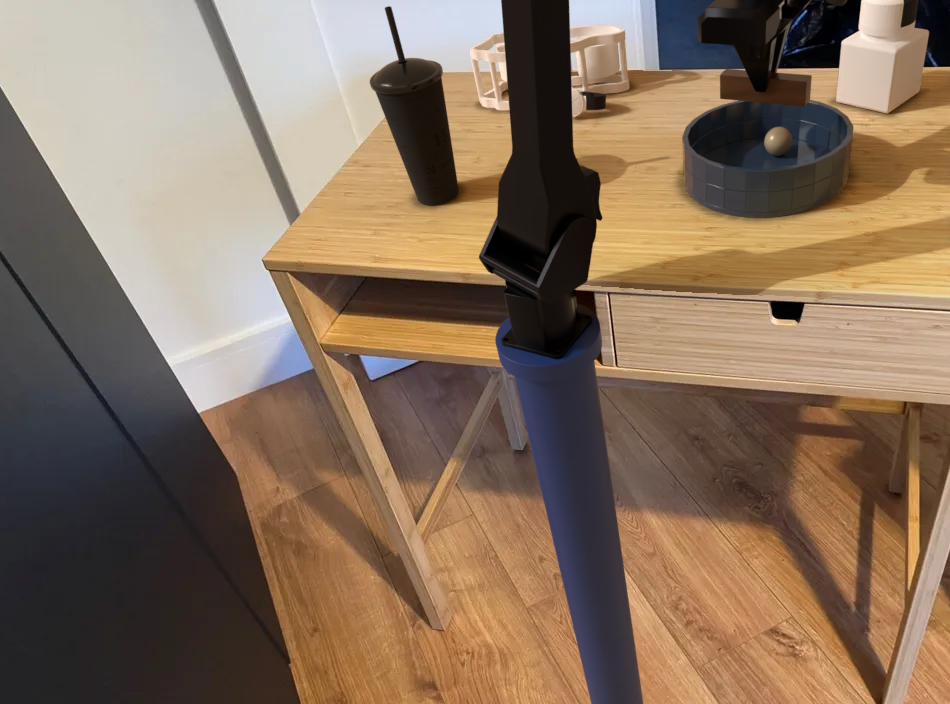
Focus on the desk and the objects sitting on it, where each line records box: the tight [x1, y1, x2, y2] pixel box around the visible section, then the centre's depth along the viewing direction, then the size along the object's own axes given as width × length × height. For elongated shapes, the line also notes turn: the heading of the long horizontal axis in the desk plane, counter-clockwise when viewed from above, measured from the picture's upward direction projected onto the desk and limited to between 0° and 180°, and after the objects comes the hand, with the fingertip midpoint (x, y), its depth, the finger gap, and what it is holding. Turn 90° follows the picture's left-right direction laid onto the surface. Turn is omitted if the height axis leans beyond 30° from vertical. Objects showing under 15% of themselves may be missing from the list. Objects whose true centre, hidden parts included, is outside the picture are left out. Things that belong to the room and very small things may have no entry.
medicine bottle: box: [835, 0, 930, 115], centre depth 94 cm, size 7×7×12 cm
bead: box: [764, 127, 792, 156], centre depth 89 cm, size 3×3×3 cm
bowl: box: [681, 99, 854, 218], centre depth 86 cm, size 17×17×5 cm
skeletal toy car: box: [469, 24, 630, 112], centre depth 109 cm, size 20×11×7 cm, turn 78°
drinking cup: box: [369, 5, 460, 206], centre depth 87 cm, size 8×8×20 cm
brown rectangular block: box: [719, 68, 813, 107], centre depth 81 cm, size 2×9×2 cm, turn 61°
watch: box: [572, 86, 607, 118], centre depth 104 cm, size 8×5×4 cm, turn 67°
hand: (764, 87), depth 81 cm, fingers closed on brown rectangular block, 2 cm apart
